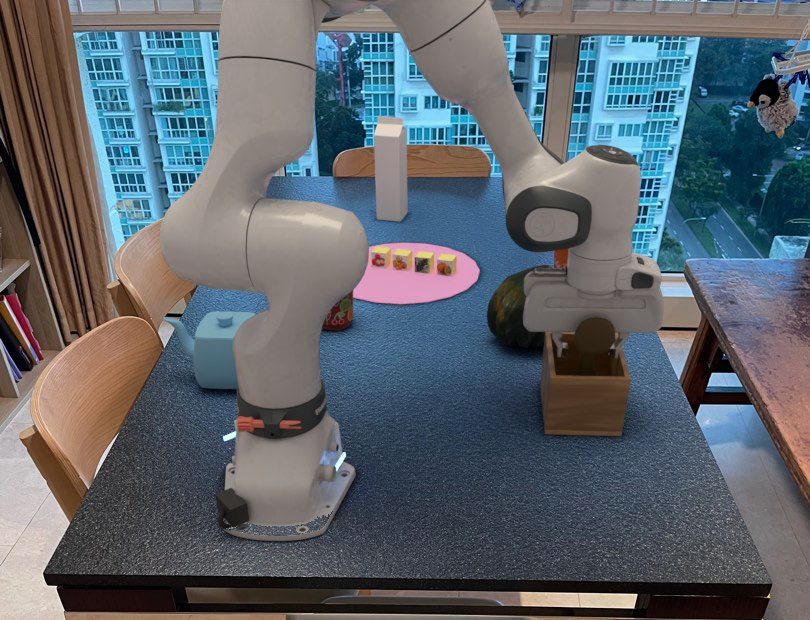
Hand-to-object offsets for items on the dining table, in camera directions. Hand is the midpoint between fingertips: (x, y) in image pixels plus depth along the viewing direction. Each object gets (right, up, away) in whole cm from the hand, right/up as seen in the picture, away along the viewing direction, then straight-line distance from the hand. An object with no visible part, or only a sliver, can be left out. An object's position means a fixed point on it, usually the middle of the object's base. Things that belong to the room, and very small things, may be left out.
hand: (587, 356), depth 134 cm
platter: (-28, +28, +50) cm, 64 cm away
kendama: (0, -7, +6) cm, 9 cm away
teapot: (-58, 0, +16) cm, 60 cm away
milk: (-31, +49, +75) cm, 95 cm away
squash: (-5, +8, +25) cm, 27 cm away
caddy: (0, -7, +6) cm, 9 cm away
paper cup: (+4, +17, +36) cm, 40 cm away
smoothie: (-41, +12, +31) cm, 53 cm away
